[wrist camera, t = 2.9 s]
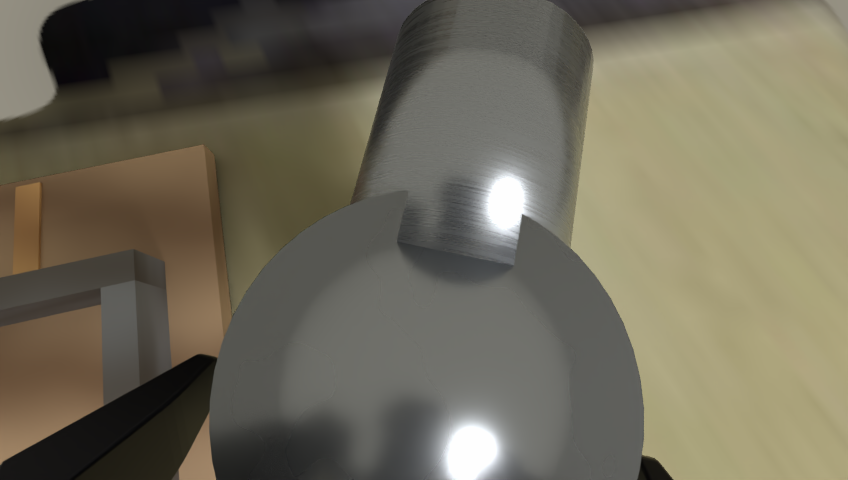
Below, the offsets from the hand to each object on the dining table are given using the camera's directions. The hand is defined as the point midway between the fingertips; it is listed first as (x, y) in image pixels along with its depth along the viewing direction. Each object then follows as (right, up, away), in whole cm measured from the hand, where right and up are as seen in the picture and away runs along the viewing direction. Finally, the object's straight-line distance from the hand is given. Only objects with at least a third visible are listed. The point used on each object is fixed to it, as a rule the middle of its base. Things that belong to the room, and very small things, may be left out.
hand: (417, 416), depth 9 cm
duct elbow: (+1, 0, +9) cm, 9 cm away
